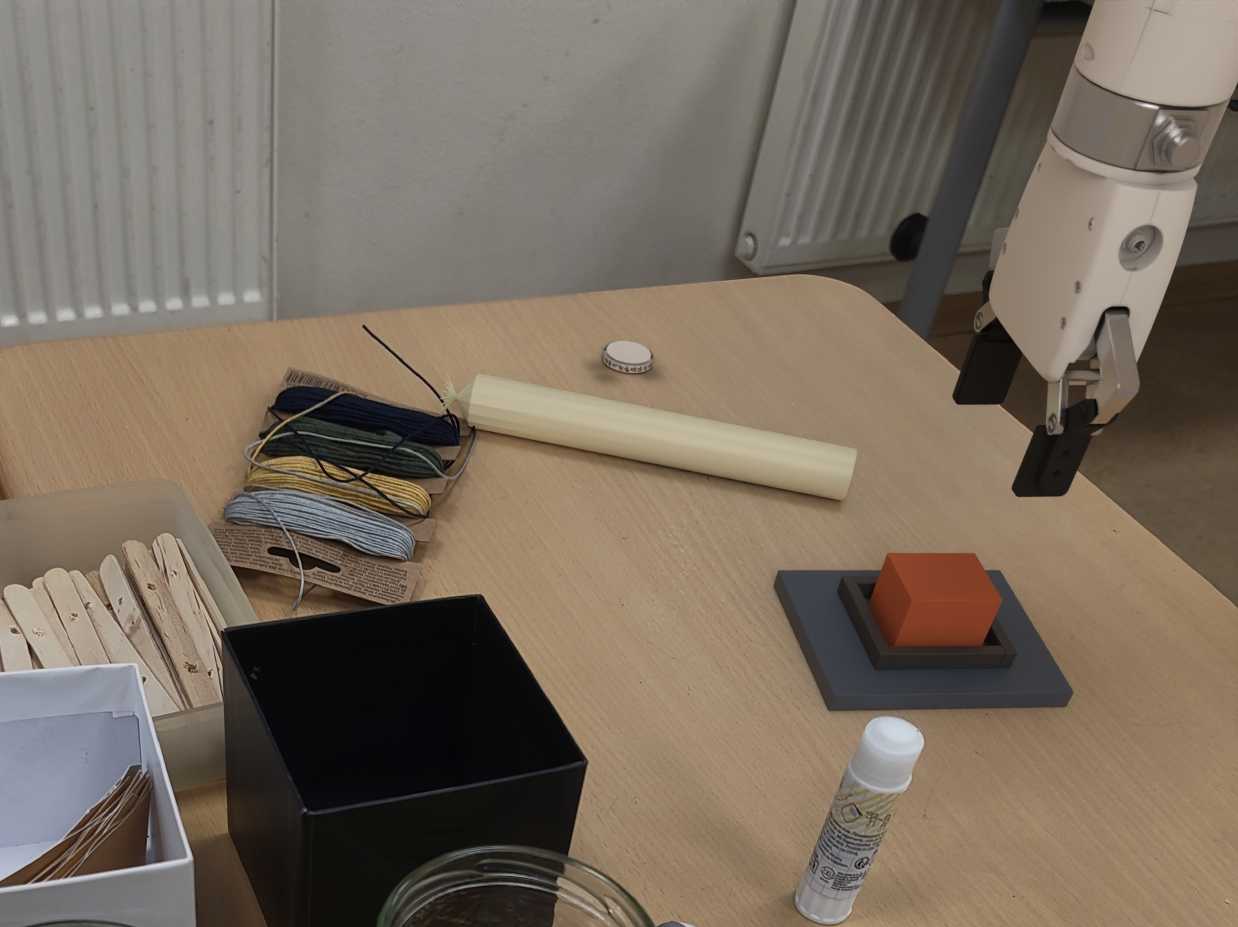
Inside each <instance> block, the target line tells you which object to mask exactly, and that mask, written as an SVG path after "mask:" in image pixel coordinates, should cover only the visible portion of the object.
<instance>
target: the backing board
mask: <svg viewBox="0 0 1238 927" xmlns="http://www.w3.org/2000/svg"><path fill="white" fill-rule="evenodd" d="M984 570H985V571H986V573H987V575H988V576H989V578H990V580H991V581H992V583H993V585H994V586H995V588H996V590H997V591H998V593H999V595H1000V597H1001V598H1002V602H1001V604H1000V607H999V609H998V611H997V613H996V615H995V618H994V620H993V622H992V624H991V626H990V629H989V631H988V633H987V635H986V637H985V640H984V642H983V644H982V646H911V647H889V646H888V644H887V642H886V640H885V638H884V636H883V634H882V632H881V630H880V628H879V626H878V624H877V622H876V620H875V618H874V616H873V614H872V612H871V610H870V608H869V606H868V604H869V601H870V599H871V596H872V593H873V591H874V588H875V585H876V582H877V580H878V577H879V574H880V572H881V569H778V570H777V573H776V576H775V580H774V582H773V587H774V588H775V591H776V593H777V594H776V595H777V596H778V598H779V600H780V602H781V605H782V607H783V609H784V612H785V614H786V617H787V619H788V621H789V623H790V625H791V627H792V630H793V632H794V635H795V637H796V639H797V641H798V643H799V646H800V648H801V650H802V652H803V655H804V657H805V659H806V661H807V664H808V666H809V669H810V671H811V673H812V675H813V677H814V680H815V682H816V684H817V686H818V688H819V691H820V694H821V696H822V698H823V700H824V702H825V705H826V707H827V709H828V711H881V710H882V711H883V710H939V709H940V710H944V709H945V710H946V709H947V710H948V709H950V710H951V709H999V708H1000V709H1001V708H1004V709H1005V708H1006V709H1007V708H1064V707H1067V706H1068V704H1069V702H1070V700H1071V699H1072V696H1073V695H1074V693H1075V692H1074V689H1073V688H1072V686H1071V685H1070V683H1069V682H1068V680H1067V678H1066V677H1065V675H1064V673H1063V672H1062V670H1061V668H1060V666H1059V665H1058V663H1057V661H1056V660H1055V658H1054V656H1053V655H1052V654H1051V652H1050V650H1049V648H1048V647H1047V645H1046V644H1045V642H1044V640H1043V639H1042V637H1041V635H1040V634H1039V632H1038V630H1037V628H1036V627H1035V625H1034V624H1033V622H1032V620H1031V619H1030V617H1029V615H1028V614H1027V612H1026V611H1025V609H1024V606H1023V605H1022V604H1021V602H1020V600H1019V599H1018V597H1017V596H1016V594H1015V592H1014V590H1013V589H1012V587H1011V586H1010V584H1009V582H1008V580H1007V579H1006V577H1005V576H1004V574H1003V572H1002V570H1000V569H984Z"/></svg>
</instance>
